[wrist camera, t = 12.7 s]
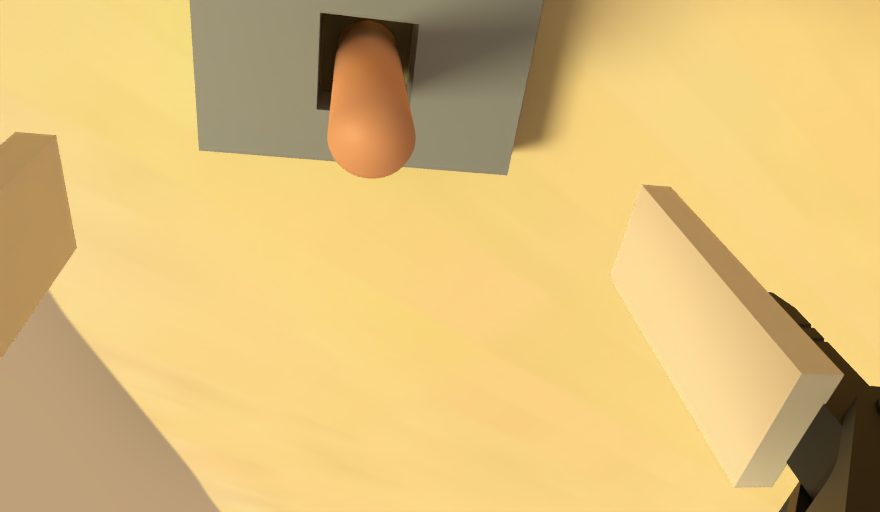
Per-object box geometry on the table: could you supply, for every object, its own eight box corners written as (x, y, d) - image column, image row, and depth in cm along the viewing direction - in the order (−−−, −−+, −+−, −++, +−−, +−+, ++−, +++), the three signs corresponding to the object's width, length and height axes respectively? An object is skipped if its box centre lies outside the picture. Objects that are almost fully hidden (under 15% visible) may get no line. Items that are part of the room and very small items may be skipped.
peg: (335, 79, 34) (325, 175, 24) (337, 16, 32) (329, 91, 22) (394, 85, 34) (410, 181, 24) (400, 23, 33) (420, 99, 23)
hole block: (210, 128, 35) (199, 150, 32) (199, -78, 29) (185, -71, 27) (496, 153, 37) (507, 175, 35) (533, -32, 32) (548, -22, 30)
